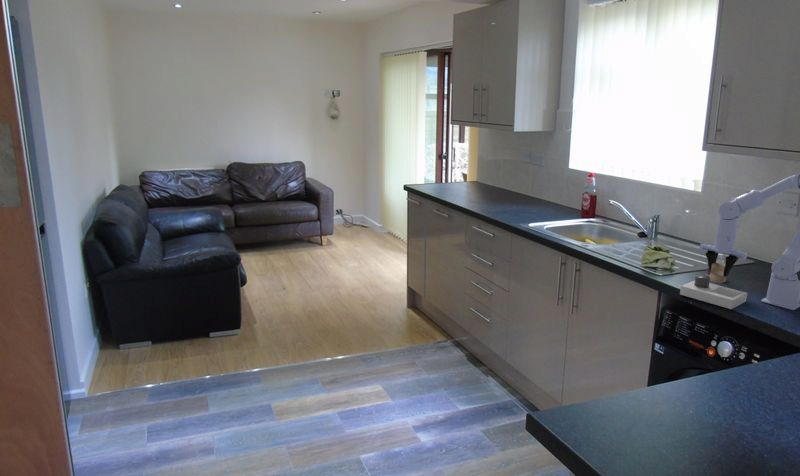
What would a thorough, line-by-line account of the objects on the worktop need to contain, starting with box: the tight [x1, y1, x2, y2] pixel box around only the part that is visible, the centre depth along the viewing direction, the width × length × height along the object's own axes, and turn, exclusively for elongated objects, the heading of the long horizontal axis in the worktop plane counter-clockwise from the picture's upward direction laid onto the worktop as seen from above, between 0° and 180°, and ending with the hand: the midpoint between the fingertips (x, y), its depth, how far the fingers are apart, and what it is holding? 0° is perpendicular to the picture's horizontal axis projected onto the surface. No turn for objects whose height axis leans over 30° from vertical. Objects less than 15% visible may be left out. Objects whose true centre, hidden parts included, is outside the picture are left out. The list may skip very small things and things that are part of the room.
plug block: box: [709, 262, 728, 284], centre depth 197 cm, size 4×4×6 cm
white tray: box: [679, 274, 748, 310], centre depth 186 cm, size 16×12×6 cm
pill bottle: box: [705, 254, 725, 277], centre depth 210 cm, size 5×5×9 cm
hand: (718, 274), depth 197 cm, fingers closed on plug block, 4 cm apart
